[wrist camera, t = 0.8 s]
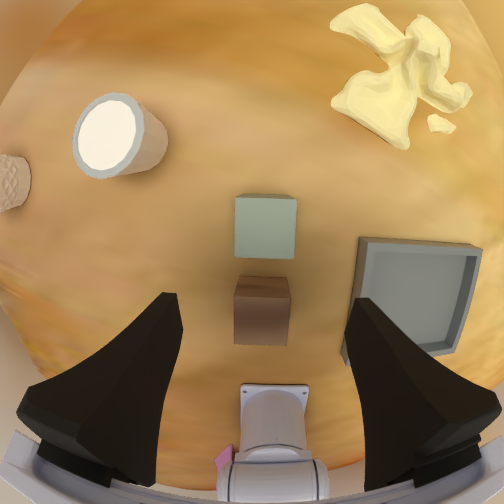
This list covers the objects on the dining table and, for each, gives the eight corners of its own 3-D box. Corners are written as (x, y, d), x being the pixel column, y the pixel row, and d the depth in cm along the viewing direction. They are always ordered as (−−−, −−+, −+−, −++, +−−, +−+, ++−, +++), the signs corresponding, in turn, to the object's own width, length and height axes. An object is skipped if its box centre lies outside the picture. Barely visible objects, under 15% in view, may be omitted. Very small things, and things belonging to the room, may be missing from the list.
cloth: (338, 156, 24) (359, 149, 18) (301, 1, 20) (307, -32, 14) (495, 156, 22) (528, 155, 16) (458, 26, 18) (482, 10, 12)
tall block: (286, 238, 25) (293, 259, 19) (242, 237, 26) (234, 257, 19) (288, 195, 24) (297, 199, 18) (243, 193, 25) (235, 197, 18)
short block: (283, 319, 27) (286, 345, 23) (239, 317, 28) (233, 343, 23) (286, 277, 26) (291, 298, 22) (239, 275, 27) (233, 296, 22)
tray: (445, 343, 28) (454, 352, 25) (340, 353, 28) (346, 366, 26) (470, 244, 24) (482, 249, 22) (359, 236, 25) (368, 242, 23)
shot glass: (122, 188, 25) (82, 193, 18) (106, 128, 23) (65, 118, 17) (183, 162, 24) (154, 156, 17) (164, 99, 23) (133, 76, 16)
